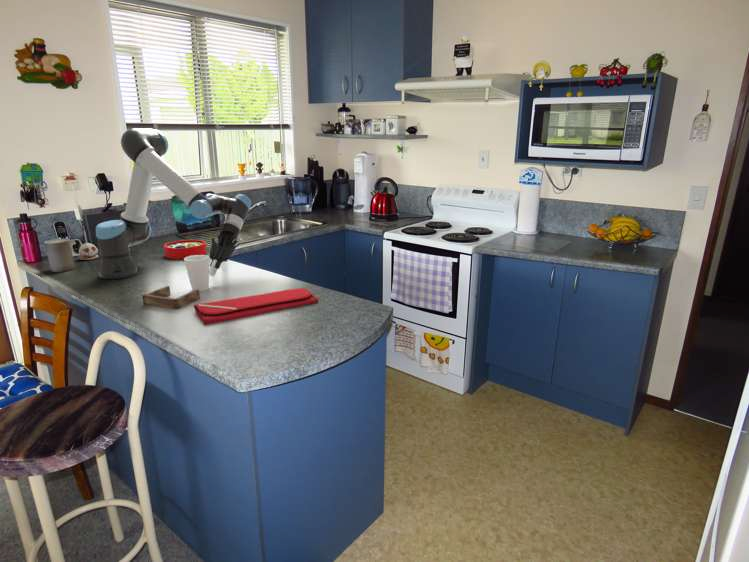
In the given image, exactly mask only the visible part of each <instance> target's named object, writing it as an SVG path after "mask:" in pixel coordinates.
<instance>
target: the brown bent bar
mask: <svg viewBox="0 0 749 562" xmlns="http://www.w3.org/2000/svg"><path fill="white" fill-rule="evenodd" d="M141 296H142V304H143V305H144V306H145V305H146V306H153V307H159V308H160V307H161V308H166V309H174V310H178V309H181V308H182V307H185V306H187V305H189V304H191V303H194V302H195V301H196V302H197V301H198V300H201V294H200V292H199V290H194V291H189V292H188V293H186V294H183V295H180V296H178V297H176V298H174V297H168V296H171V289H170V285H165V286H163V287H160V288H158V289H155V290H153V291H149V292H147V293H145V294H143V295H141Z"/></svg>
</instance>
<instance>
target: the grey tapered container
mask: <svg viewBox="0 0 749 562" xmlns="http://www.w3.org/2000/svg"><path fill="white" fill-rule="evenodd" d="M44 246H45V250H46V254H47V255H46V256H47V260H48V263H49V267H50V271H51V272H54V273H62V272H68V271H71V270H75V268H76V265H75V261H74V256H73V251H72V247H71V246H72V245H71V243H70V239H69V238H53V239H49V240H45V241H44Z"/></svg>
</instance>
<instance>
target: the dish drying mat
mask: <svg viewBox="0 0 749 562" xmlns="http://www.w3.org/2000/svg"><path fill="white" fill-rule="evenodd" d="M316 303H319V299H318V298H317V297H316V296H315V295H313V293H312V292H311V291H310V290H309V289H308V288H307V289H306V288H302V287H301V288H290V289H289V288H288V289H283V290H278V291H273V292H267V293H262V294H255V295H248V296H242V297H236V298H230V299H229V298H228V299H223V300H218V301H216V300H215V301H209V302H203V303H197V304H196V303H195V304H194V305H193V308H194V311H195V313H196V315H197V317H198V318H199V319H200V321H201V322H202V323H203V325H204V326H206V325H212V324H217V323H223V322H228V321H233V320H238V319H243V318H248V317H253V316H257V315H261V314H262V315H264V314H268V313H273V312H278V311H283V310H287V309H292V308H297V307H302V306H307V305H310V304H311V305H312V304H316Z"/></svg>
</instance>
